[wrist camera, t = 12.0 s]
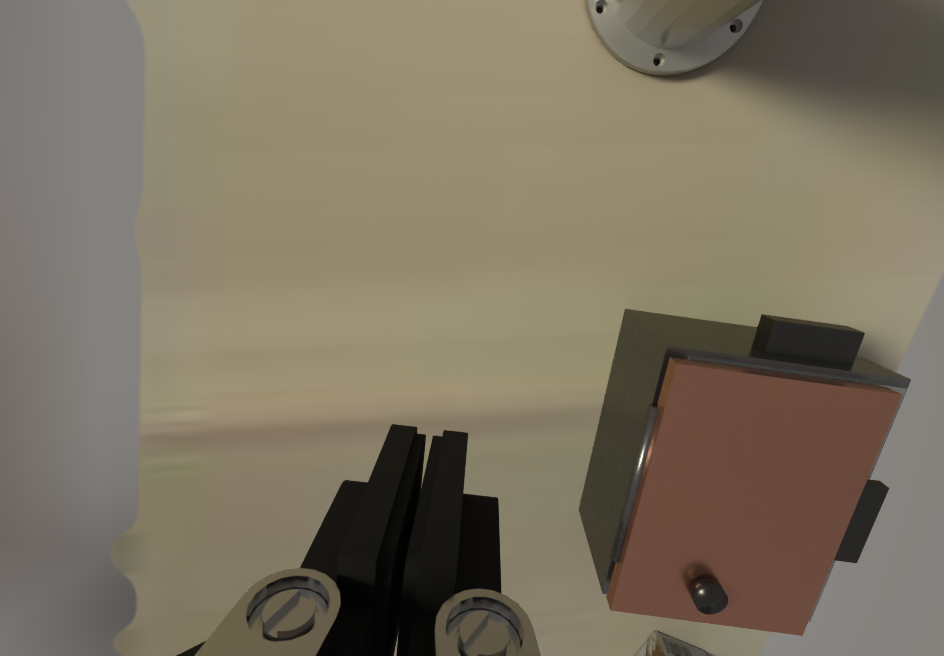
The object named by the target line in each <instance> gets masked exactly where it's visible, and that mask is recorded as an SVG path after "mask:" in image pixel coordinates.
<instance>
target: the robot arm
mask: <svg viewBox="0 0 944 656" xmlns="http://www.w3.org/2000/svg"><path fill="white" fill-rule="evenodd" d="M762 2H763V0H585V4H586V10H587V14H588V17H589V20H590V22H591V25H592V28H593V30H594V32H595V33H596V35H597V37H598V39H599V40H600V42H601V44H602V45H603V46H604V47H605V48H606V49H607V50H608V51H609V53H610V54H611V55H612V56H613V57H615V58H616V59H617V60H619V61H620V62H621V63H623V64H624V65H626V66H627V67H630V68H632V69H634V70H637V71H639V72H642V73H647V74H652V75H676V74H681V73H685V72H690V71H692V70H694V69H697V68H699V67H701V66H704V65H706V64H708V63H709V62H711V61H712V60H714V59H716V58H718V57H719V56H720V55H722V54H723V53H724V52H725V51H727V50H728V49H729V48H730V47H732V46H733V45H734V44H735V43H736V42H737V41H738V40H739V39H740V38H741V37H742V35H743V34H744V33H745V32H746V31H747V29H748V28H749V26H750V24H751V23H752V21H753V20H754V18H755V17H756V15H757V14H758V11H759V9H760V7H761V5H762ZM598 7H599V8H601V9H602V13H601V14H599V13H597V11H596V8H598ZM730 26H731V27H732V28H733V32H731V30H730ZM654 59H656V60H658V66H655V65H654V63H653V60H654ZM425 441H426V435H424V434H417V427H413V426H404V425H395V424H392V425H391V427H390V430H389V432H388V435H387V437H386V440H385V442H384V445H383V447H382V450H381V452H380V454H379V457H378V459H377V462H376V464H375V467H374V469H373V472H372V474H371V476H370V479H369V481H368V483H367V482H358V481H349V480H345V481H343V483H342V484H341V486H340V488H339V490H338V492H337V494H336V496H335V498H334V500H333V502H332V504H331V506H330V508H329V510H328V512H327V514H326V516H325V518H324V520H323V522H322V524H321V526H320V528H319V530H318V532H317V535H316V537H315V539H314V541H313V543H312V545H311V547H310V549H309V551H308V553H307V555H306V557H305V559H304V561H303V563H302V565H301V567H300V568H295V569H287V570H282V571H279V572H277V573H274V574H271V575H268V576H267V577H265V578H263V579H262V580H260V581H258V582H257V583H255V584H254V585H253V586H252V587H251V588H250V589H249V590H248V591H247V592H246V593H245V594H244V595H243V596H242V597H241V598H240V600H239V601H238V602H237V603H236V605H235V606H234V607H233V608H232V610H231V611H230V612H229V613H228V615H227V616H226V617H225V618H224V619H223V621H222V622H221V623H220V624H219V626H218V627H217V628H216V629H215V631H214V632H213V633H212V634H211V636H210V637H209V638H208V639H207V641H205V642H203V643H201V644H199V645H197V646H195V647H193V648H191V649H189V650H187V651H185V652H183V653H181V654H179V655H177V656H394V651H395V646H396V641H397V636H398V645H397V656H541V655H540V651H539V648H538V644H537V640H536V636H535V633H534V629H533V626H532V624H531V622H530V620H529V617H528V615H527V614H526V613H525V611H524V610H523V609H522V608H521V607H520V606H519V604H518V603H516V602H515V601H513V600H512V599H510V598H509V597H508V596H506V595H504V594H501V568H500V537H499V506H498V498H497V497H488V496H479V495H471V494H463V489H464V477H465V465H466V453H467V441H468V433H465V432H456V431H447V430H444V432H443V437H442V436H433V439H432V443H431V448H430V452H429V457H428V461H427V466H426V470H425V475H424V479H423V484H422V473H423V462H424V452H425ZM421 484H422V488H421ZM398 631H399V634H398Z"/></svg>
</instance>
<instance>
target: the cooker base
mask: <svg viewBox="0 0 944 656" xmlns="http://www.w3.org/2000/svg"><path fill="white" fill-rule="evenodd" d="M864 334H865V333H864V332H861V331H859V330H856V329H853V328H851V327H848V326H842V325H835V324H827V323H820V322H813V321H806V320H799V319H792V318H785V317H777V316H770V315H763V314H762V315H761V318H760V321H759V325H758V327H751V326H743V325H736V324H729V323H722V322H715V321H708V320H700V319H693V318H686V317H679V316H672V315H665V314H657V313H650V312H643V311H636V310H629V309H625V312H624V316H623V320H622V325H621V329H620V333H619V338H618V342H617V346H616V351H615V355H614V359H613V364H612V368H611V372H610V377H609V381H608V385H607V390H606V394H605V398H604V403H603V407H602V412H601V416H600V420H599V425H598V429H597V433H596V438H595V442H594V446H593V451H592V455H591V459H590V464H589V468H588V472H587V477H586V481H585V485H584V490H583V494H582V498H581V503H580V507H579V512H580V516H581V519H582V523H583V526H584V530H585V533H586V537H587V540H588V544H589V547H590V551H591V554H592V558H593V561H594V565H595V568H596V572H597V576H598V579H599V583H600V586H601V590H602V593H603V594H607V593H608V589H609V585H610V582H611V578H612V574H613V570H614V566H615V563H616V562H614V561H612V560H611V558H610V552H611V548H612V545H613V541H614V537H615V533H616V529H617V525H618V521H619V518H620V514H621V510H622V506H623V502H624V498H625V494H626V491H627V487H628V483H629V479H630V475H631V471H632V467H633V463H634V460H635V456H636V452H637V448H638V444H639V440H640V436H641V433H642V429H643V425H644V421H645V417H646V413H647V409H648V406H649V404H656V405H657V404H658V400H659V396H660V392H661V389H662V385H663V381H664V377H665V373H666V370H667V366H668V362H669V358H670V357H672V358H679V359H687V360H694V361H701V362H708V363H716V364H723V365H730V366H738V367H745V368H752V369H759V370H767V371H774V372H781V373H788V374H796V375H803V376H810V377H817V378H825V379H832V380H839V381H846V382H854V383H861V384H868V385H875V386H883V387H888V388H890V389H892V390H894V391H896V392H898V393H900V394H902V397H901V400H900V402H899V405H898V407H897V409H896V412H895V414H894V417H893V419H892V421H891V424H890V426H889V429H888V431H887V433H886V436H885V438H884V441H883V443H882V445H881V448H880V450H879V453H878V455H877V457H876V460H875V462H874V465H873V467H872V469H871V472H870V474H869V477H868V480H869V479H870V477H871V474H872V472H873V470H874V467H875V465H876V462H877V460H878V458H879V455H880V453H881V450H882V448H883V445H884V443H885V441H886V438H887V436H888V434H889V431H890V429H891V426H892V424H893V421H894V419H895V417H896V414H897V412H898V410H899V407H900V405H901V402H902V400H903V398H904V395H905V393H906V391H907V388H908V386H909V383H910V381H911V380H910V379H908V378H906V377H904V376H902V375H900V374H897V373H895V372H893V371H891V370H888V369H886V368H884V367H882V366H880V365H877V364H875V363H873V362H871V361H868V360H866V359H864V358H862V357H860V356H857V352H858V350H859V347H860V345H861V342H862V339H863V337H864ZM835 561H836V560H834V561H833V563H832V566H831V568H830V570H829V573H828V575H827V578H826V580H825V582H824V585H823V587H822V590H821V592H820V594H819V597H818V599H817V602H816V604H815V606H814V609H813V611H812V614H811V616H810V618H809V621H810V620H811V618H812V616H813V613H814V611H815V608H816V606H817V604H818V601H819V599H820V597H821V594H822V592H823V589H824V587H825V585H826V582H827V580H828V577H829V575H830V573H831V570H832V568H833V565H834V563H835Z"/></svg>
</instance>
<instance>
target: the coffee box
mask: <svg viewBox="0 0 944 656" xmlns="http://www.w3.org/2000/svg"><path fill="white" fill-rule="evenodd" d="M636 656H707V655H706V653H705V651H703V650H701V649H699V648H696V647H694V646H692V645H689V644H687V643H684V642H682V641H680V640H677V639H675V638H672V637H670V636H667V635H665V634H663V633H660V632H658V631H654V632H653V634H652V635H651V636H650V637H649V639H648V640H647V641H646V643H645V644H644V645H643V647H642V648H641V649H640V651H639V652H638V653H637V654H636Z"/></svg>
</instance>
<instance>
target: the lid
mask: <svg viewBox="0 0 944 656" xmlns="http://www.w3.org/2000/svg"><path fill="white" fill-rule="evenodd" d="M901 397H902V394H900V393H898V392H896V391H894V390H892V389H890V388H888V387H883V386H875V385H868V384H861V383H854V382H846V381H839V380H832V379H825V378H817V377H810V376H803V375H796V374H788V373H781V372H774V371H767V370H759V369H752V368H745V367H738V366H730V365H723V364H716V363H708V362H701V361H694V360H687V359H679V358H672V357H670V358H669V362H668V366H667V370H666V373H665V377H664V381H663V385H662V389H661V392H660V396H659V400H658V404H657V405H656V404H649V406H648V409H647V413H646V417H645V421H644V425H643V429H642V433H641V436H640V440H639V444H638V448H637V452H636V456H635V460H634V463H633V467H632V471H631V475H630V479H629V483H628V487H627V491H626V494H625V498H624V502H623V506H622V510H621V514H620V518H619V521H618V525H617V529H616V533H615V537H614V541H613V545H612V548H611V552H610V558H611V560H612V561H614V562H616V563H615V566H614V570H613V574H612V578H611V582H610V585H609V589H608V593H607V600H608V604H609V607H610V610H612V611H620V612H627V613H635V614H642V615H650V616H658V617H665V618H673V619H680V620H688V621H695V622H703V623H711V624H718V625H726V626H733V627H741V628H748V629H756V630H764V631H771V632H779V633H786V634H794V635H801V636H802V635H803V633H804V630H805V628H806V626H807V623H808V621H809V618H810V616H811V614H812V611H813V609H814V606H815V604H816V602H817V599H818V597H819V594H820V592H821V590H822V587H823V585H824V582H825V580H826V578H827V575H828V573H829V570H830V568H831V566H832V563H833V561H834V560H837V561H845V562H852V563H857V561H858V559H859V557H860V555H861V552H862V550H863V548H864V545H865V543H866V541H867V538H868V536H869V533H870V531H871V529H872V527H873V524H874V522H875V520H876V517H877V515H878V513H879V510H880V508H881V506H882V504H883V501H884V499H885V497H886V494H887V492H888V490H889V488H888V487H887V486H885V485H884V484H883V483H882V482H880V481H876V480H868V477H869V474H870V472H871V469H872V467H873V465H874V462H875V460H876V457H877V455H878V453H879V450H880V448H881V445H882V443H883V441H884V438H885V436H886V433H887V431H888V429H889V426H890V424H891V421H892V419H893V417H894V414H895V412H896V409H897V407H898V405H899V402H900V400H901Z"/></svg>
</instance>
